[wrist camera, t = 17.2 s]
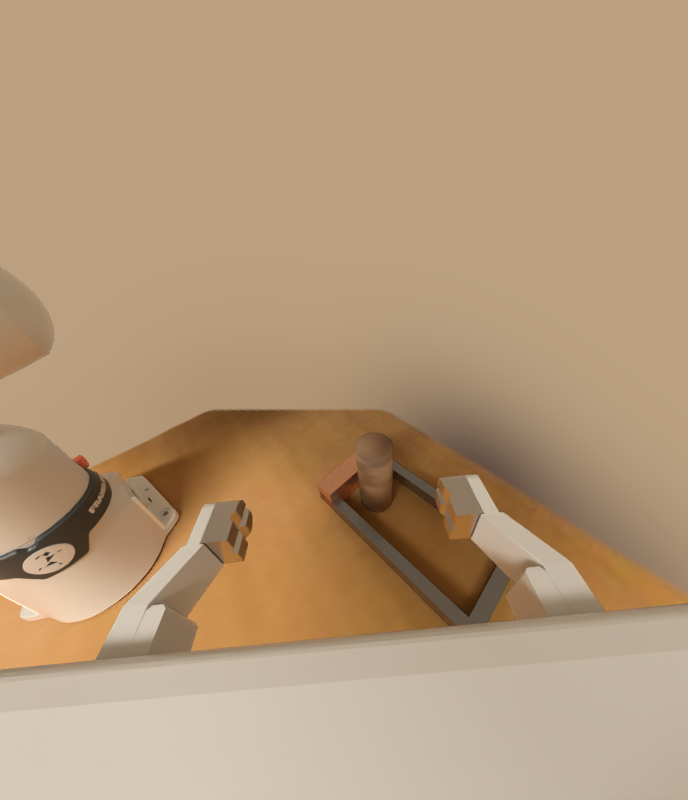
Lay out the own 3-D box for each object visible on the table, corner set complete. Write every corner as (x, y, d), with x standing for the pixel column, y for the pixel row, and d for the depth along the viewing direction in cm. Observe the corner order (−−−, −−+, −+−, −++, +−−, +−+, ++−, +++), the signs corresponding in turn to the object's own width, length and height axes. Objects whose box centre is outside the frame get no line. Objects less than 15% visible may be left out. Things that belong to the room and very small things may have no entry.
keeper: (354, 497, 41) (346, 447, 34) (375, 478, 44) (372, 427, 37) (377, 518, 38) (375, 467, 31) (398, 496, 41) (400, 444, 34)
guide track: (321, 497, 42) (317, 483, 40) (372, 453, 48) (371, 438, 46) (472, 649, 26) (480, 640, 24) (519, 555, 33) (530, 540, 30)
